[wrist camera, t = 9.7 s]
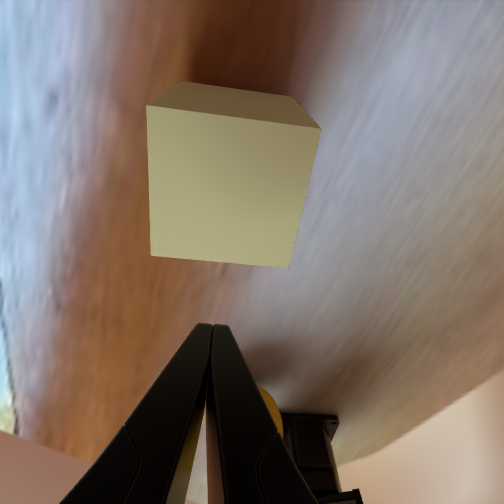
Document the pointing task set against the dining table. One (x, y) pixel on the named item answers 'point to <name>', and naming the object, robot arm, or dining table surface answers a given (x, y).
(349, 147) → the dining table surface
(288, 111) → the cream rectangular block
